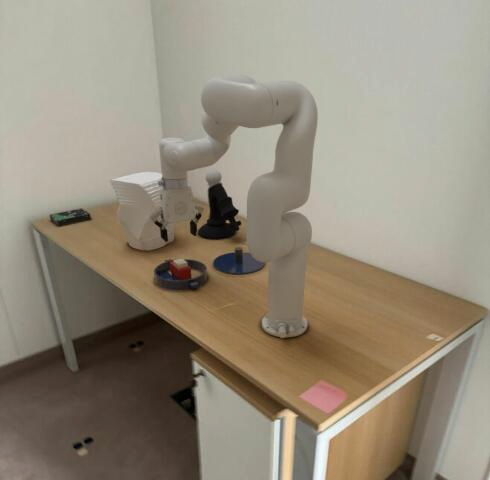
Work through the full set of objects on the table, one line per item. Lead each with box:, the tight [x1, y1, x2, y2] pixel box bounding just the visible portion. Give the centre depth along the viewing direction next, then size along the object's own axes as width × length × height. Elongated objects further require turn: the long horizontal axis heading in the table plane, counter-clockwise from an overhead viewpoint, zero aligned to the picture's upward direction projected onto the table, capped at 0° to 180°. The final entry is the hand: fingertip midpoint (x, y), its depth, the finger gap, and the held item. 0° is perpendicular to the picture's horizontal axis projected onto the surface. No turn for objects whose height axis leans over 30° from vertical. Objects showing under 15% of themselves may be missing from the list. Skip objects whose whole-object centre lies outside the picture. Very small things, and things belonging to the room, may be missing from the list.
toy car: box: [170, 257, 192, 280], centre depth 152 cm, size 8×4×6 cm, turn 30°
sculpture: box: [197, 169, 242, 240], centre depth 182 cm, size 15×24×25 cm, turn 34°
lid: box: [212, 246, 265, 276], centre depth 162 cm, size 18×18×6 cm
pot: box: [153, 258, 208, 291], centre depth 153 cm, size 17×23×4 cm
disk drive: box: [49, 208, 92, 227], centre depth 205 cm, size 10×3×15 cm
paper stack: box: [109, 171, 175, 252], centre depth 176 cm, size 21×27×26 cm
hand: (179, 237), depth 147 cm, fingers open, 9 cm apart
